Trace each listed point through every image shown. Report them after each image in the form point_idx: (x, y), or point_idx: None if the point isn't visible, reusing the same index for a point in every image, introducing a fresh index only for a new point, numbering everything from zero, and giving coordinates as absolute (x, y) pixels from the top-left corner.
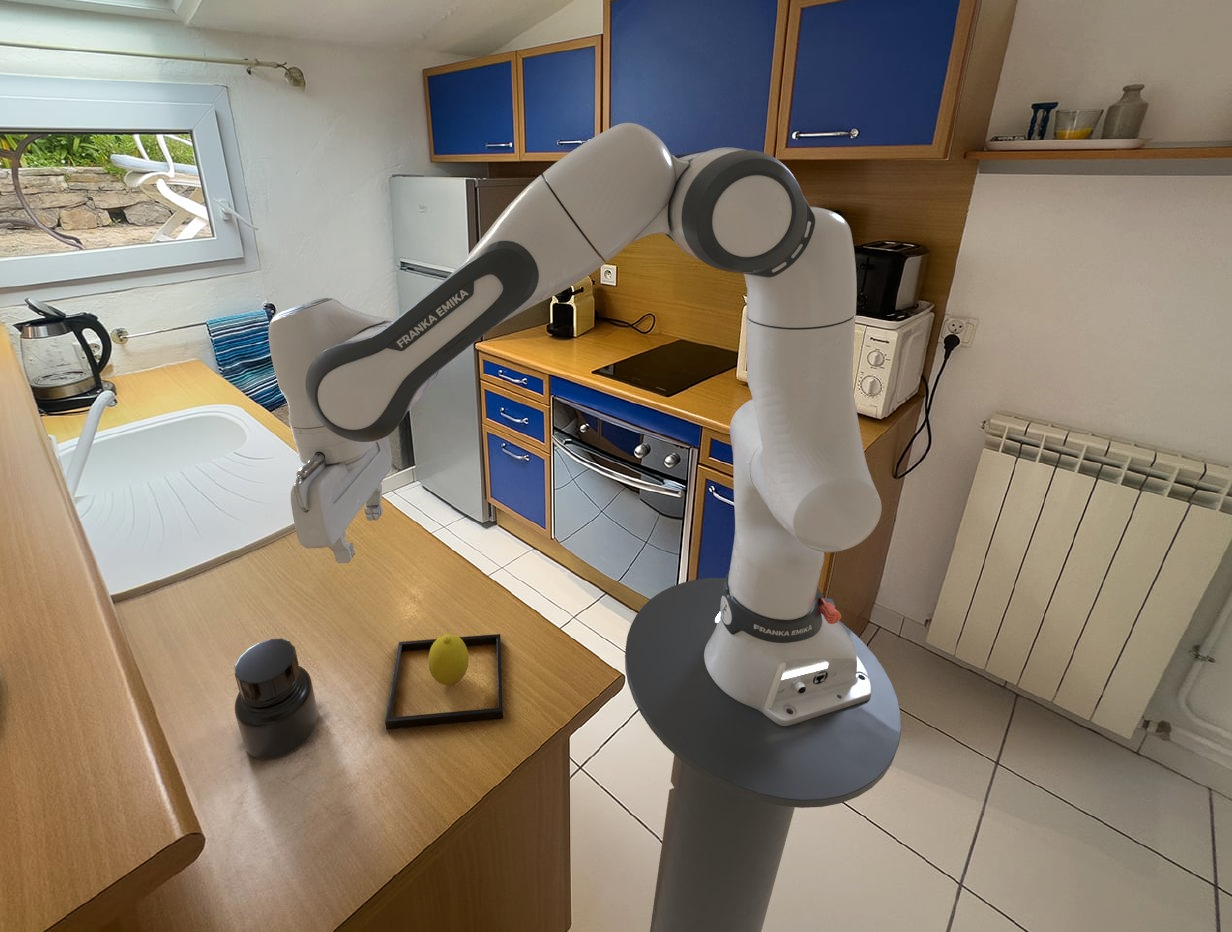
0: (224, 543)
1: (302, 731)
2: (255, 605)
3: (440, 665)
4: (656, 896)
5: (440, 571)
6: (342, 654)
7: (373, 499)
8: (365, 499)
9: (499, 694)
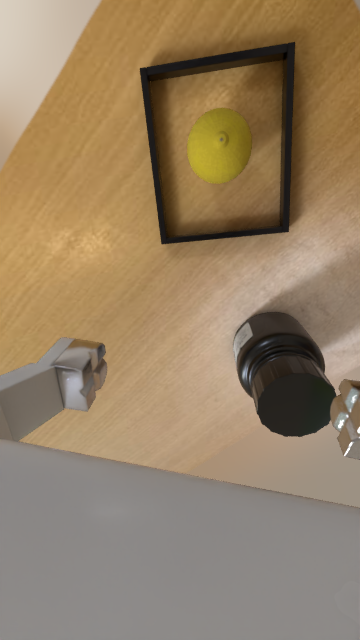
0: None
1: (297, 323)
2: (107, 420)
3: (249, 153)
4: None
5: (9, 212)
6: (172, 311)
7: (34, 400)
8: (223, 511)
9: (263, 52)
